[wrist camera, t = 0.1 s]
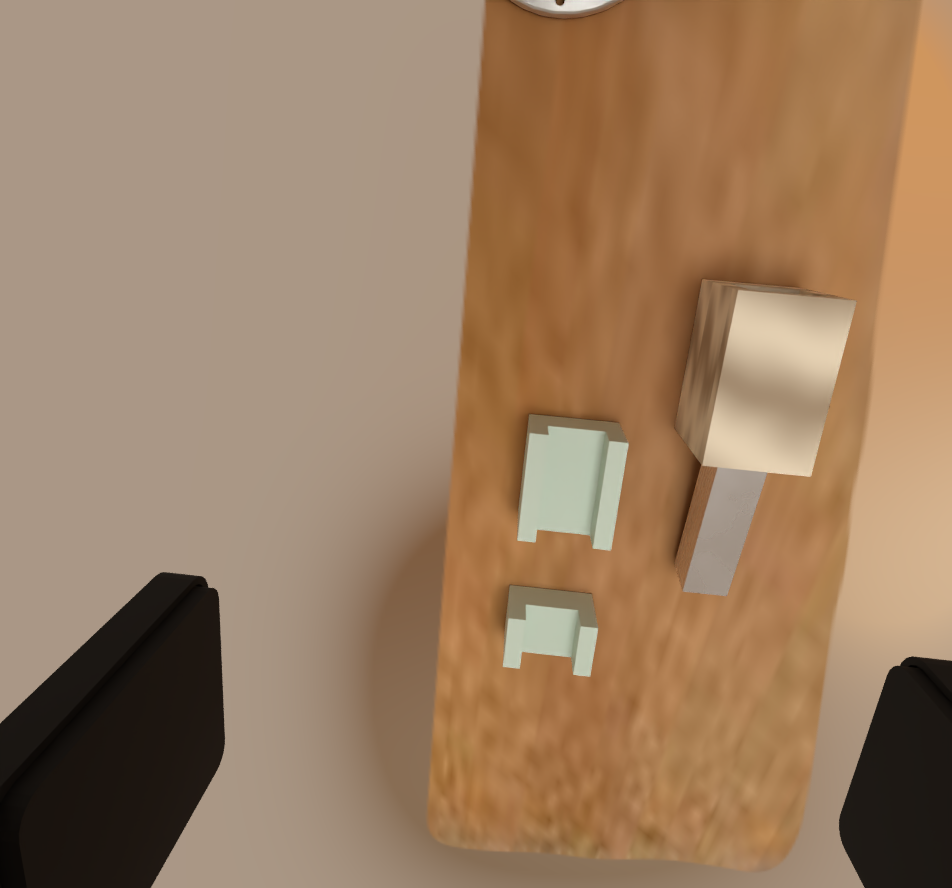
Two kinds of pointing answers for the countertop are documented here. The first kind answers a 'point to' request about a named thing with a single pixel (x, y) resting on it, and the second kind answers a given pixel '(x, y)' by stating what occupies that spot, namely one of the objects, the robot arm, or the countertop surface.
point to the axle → (717, 528)
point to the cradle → (564, 530)
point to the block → (761, 375)
